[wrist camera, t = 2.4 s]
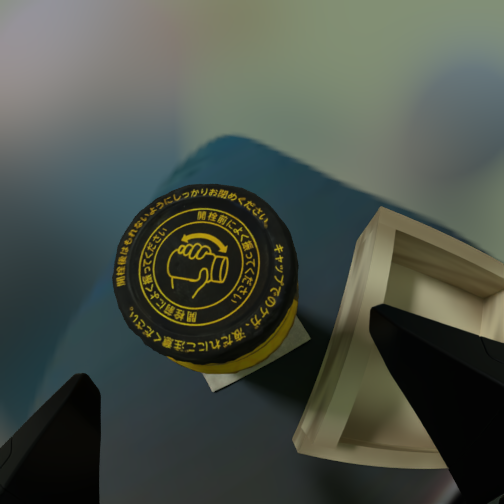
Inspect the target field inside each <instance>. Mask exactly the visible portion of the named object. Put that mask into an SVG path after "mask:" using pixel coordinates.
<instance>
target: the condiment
mask: <svg viewBox="0 0 504 504" xmlns="http://www.w3.org/2000/svg"><path fill="white" fill-rule="evenodd" d="M112 280H113V288H114V293H115V296H116V299H117V302H118V307H119V309H120V311H121V313H122V315H123V317H124V320H125V322H126V323H127V325H128V327H129V328H130V329H131V330H132V331H133V332H134V333H135V334H136V335H138V336H139V337H140V338H141V339H142V340H143V342H144V344H145V345H147V346H149V347H150V348H152V349H153V350H154V351H156V352H158V353H159V354H162V355H164V356H167V357H168V358H169V359H171V360H172V361H174V362H176V363H177V364H179V365H181V366H183V367H186V368H190V369H191V370H193V371H198V372H202V373H203V375H204V377H205V379H206V381H207V382H208V384H209V386H210V388H211V390H212V392H214V391H216V390H218V389H220V388H222V387H225V386H227V385H229V384H231V383H233V382H235V381H237V380H238V379H240V378H242V377H244V376H246V375H248V374H250V373H252V372H254V371H256V370H258V369H259V368H261V367H263V366H265V365H267V364H269V363H270V362H272V361H274V360H276V359H278V358H279V357H281V356H283V355H285V354H286V353H288V352H290V351H291V350H293V349H295V348H297V347H298V346H300V345H302V344H303V343H305V342H307V341H308V340H310V339H311V338H310V337H309V335H308V333H307V332H306V330H305V328H304V327H303V325H302V324H301V322H300V320H299V319H298V317H297V316H296V313H297V307H298V298H299V294H298V260H297V253H296V251H295V247H294V244H293V241H292V237H291V234H290V232H289V230H288V228H287V226H286V225H285V223H284V222H283V221H282V220H281V219H280V218H279V216H278V215H277V213H276V212H275V211H274V210H273V208H272V207H271V206H270V205H269V204H268V203H267V202H265V201H264V200H263V199H261V198H260V197H258V196H257V195H256V194H254V193H252V192H250V191H247V190H245V189H243V188H239V187H234V186H227V185H219V184H195V185H187V186H184V187H181V188H179V189H176V190H173V191H171V192H169V193H168V194H166V195H163V196H161V197H159V198H157V199H155V200H154V201H153V202H152V203H151V204H149V205H148V206H147V207H145V208H144V209H143V210H141V211H140V212H139V213H138V214H137V215H136V216H135V218H134V219H133V221H132V222H131V224H130V225H129V227H128V228H127V230H126V231H125V233H124V235H123V236H122V238H121V240H120V243H119V245H118V248H117V254H116V259H115V264H114V273H113V276H112Z"/></svg>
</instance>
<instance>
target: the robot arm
mask: <svg viewBox="0 0 504 504" xmlns="http://www.w3.org/2000/svg"><path fill="white" fill-rule="evenodd" d="M369 332H370V335H371V337H372V339H373V341H374V343H375V345H376V347H377V349H378V351H379V353H380V355H381V357H382V359H383V361H384V363H385V365H386V367H387V369H388V370H389V372H390V374H391V376H392V377H393V379H394V380H395V382H396V383H397V385H398V387H399V388H400V390H401V391H402V393H403V394H404V396H405V397H406V399H407V401H408V402H409V404H410V405H411V407H412V409H413V410H414V412H415V413H416V415H417V417H418V418H419V420H420V421H421V423H422V425H423V426H424V428H425V430H426V431H427V433H428V435H429V436H430V438H431V440H432V441H433V443H434V445H435V447H436V448H437V450H438V452H439V453H440V455H441V457H442V459H443V460H444V462H445V464H446V466H447V467H448V468H449V471H450V473H451V475H452V477H453V479H454V480H455V482H456V484H457V486H458V488H459V490H460V492H461V494H462V495H463V497H464V499H465V501H466V503H467V504H487V503H489V502H491V501H492V500H494V499H496V498H497V497H499V496H501V495H502V494H504V343H502V342H499V341H495V340H492V339H489V338H486V337H483V336H479V335H477V334H474V333H471V332H468V331H465V330H462V329H459V328H456V327H453V326H450V325H447V324H443V323H440V322H437V321H435V320H432V319H429V318H426V317H423V316H420V315H417V314H414V313H411V312H408V311H405V310H402V309H399V308H396V307H393V306H390V305H387V304H384V303H382V304H379V305H376V306H373V307H372V308H371V309H370V318H369ZM100 442H101V395H100V391H99V389H98V388H97V387H96V385H95V384H94V383H93V381H92V380H91V378H90V377H89V376H88V375H87V374H86V373H78V374H74V375H73V376H72V377H71V378H70V379H69V380H68V381H67V382H66V383H65V384H64V385H63V386H62V387H61V388H60V389H59V390H58V391H57V392H56V393H55V394H54V395H53V396H52V397H51V398H50V399H49V400H47V401H46V402H45V403H44V404H43V405H42V406H41V407H40V408H39V409H38V410H37V411H36V412H35V413H34V414H33V415H32V416H31V417H30V418H29V419H28V420H27V421H26V422H25V423H24V424H23V425H22V427H21V428H20V429H19V430H18V431H17V432H16V433H15V434H14V435H13V437H11V438H10V439H9V440H8V441H7V442H6V443H5V444H4V445H3V446H2V447H1V448H0V504H100V503H99V462H100ZM499 504H504V495H503V496H502V497H501V498H500V500H499Z"/></svg>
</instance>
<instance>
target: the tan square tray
mask: <svg viewBox="0 0 504 504" xmlns="http://www.w3.org/2000/svg"><path fill="white" fill-rule="evenodd" d="M382 303H384V304H387V305H390V306H393V307H396V308H399V309H402V310H405V311H408V312H411V313H414V314H417V315H420V316H423V317H426V318H429V319H432V320H435V321H437V322H440V323H443V324H447V325H450V326H453V327H456V328H459V329H462V330H465V331H468V332H471V333H474V334H477V335H479V336H483V337H486V338H489V339H492V340H495V341H499V342H502V343H504V264H503V263H501V262H499V261H498V260H496V259H494V258H492V257H490V256H488V255H487V254H485V253H483V252H481V251H479V250H477V249H475V248H473V247H471V246H469V245H467V244H465V243H463V242H461V241H459V240H457V239H455V238H453V237H451V236H449V235H446V234H444V233H442V232H440V231H438V230H436V229H433V228H431V227H429V226H427V225H424V224H422V223H420V222H418V221H415V220H413V219H411V218H408V217H406V216H403V215H401V214H399V213H396V212H394V211H391V210H389V209H386V208H384V207H380V208H379V210H378V211H377V213H376V214H375V216H374V217H373V218H372V220H371V221H370V223H369V224H368V226H367V227H366V229H365V230H364V231H363V233H362V234H361V236H360V237H359V239H358V240H357V242H356V247H355V251H354V255H353V260H352V264H351V268H350V272H349V276H348V280H347V284H346V287H345V291H344V295H343V298H342V302H341V306H340V309H339V313H338V316H337V319H336V323H335V326H334V329H333V332H332V335H331V339H330V342H329V345H328V348H327V351H326V354H325V357H324V360H323V363H322V365H321V368H320V371H319V374H318V377H317V379H316V382H315V385H314V387H313V390H312V393H311V395H310V398H309V400H308V403H307V405H306V408H305V410H304V413H303V415H302V418H301V420H300V422H299V425H298V427H297V429H296V432H295V434H294V436H293V438H292V441H293V443H294V445H295V447H296V449H297V451H298V453H301V454H305V455H310V456H314V457H319V458H324V459H329V460H335V461H341V462H347V463H353V464H361V465H369V466H379V467H391V468H411V469H438V468H448V467H447V466H446V464H445V462H444V460H443V459H442V457H441V455H440V453H439V452H438V450H437V448H436V447H435V445H434V443H433V441H432V440H431V438H430V436H429V435H428V433H427V431H426V430H425V428H424V426H423V425H422V423H421V421H420V420H419V418H418V417H417V415H416V413H415V412H414V410H413V409H412V407H411V405H410V404H409V402H408V401H407V399H406V397H405V396H404V394H403V393H402V391H401V390H400V388H399V387H398V385H397V383H396V382H395V380H394V379H393V377H392V376H391V374H390V372H389V370H388V369H387V367H386V365H385V363H384V361H383V359H382V357H381V355H380V353H379V351H378V349H377V347H376V345H375V343H374V341H373V339H372V337H371V335H370V332H369V318H370V309H371V308H372V307H373V306H376V305H379V304H382Z"/></svg>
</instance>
